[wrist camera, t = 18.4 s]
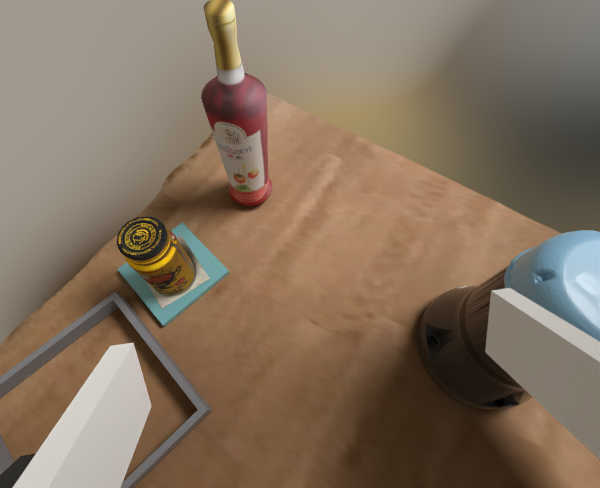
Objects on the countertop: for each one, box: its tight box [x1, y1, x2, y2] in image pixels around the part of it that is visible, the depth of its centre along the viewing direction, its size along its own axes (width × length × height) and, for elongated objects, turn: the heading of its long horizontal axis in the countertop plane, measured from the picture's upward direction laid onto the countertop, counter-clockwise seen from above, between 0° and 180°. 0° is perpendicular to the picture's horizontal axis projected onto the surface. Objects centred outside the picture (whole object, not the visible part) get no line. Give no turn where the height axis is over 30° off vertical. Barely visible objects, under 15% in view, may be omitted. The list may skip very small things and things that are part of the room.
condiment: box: [117, 217, 210, 309], centre depth 42 cm, size 7×8×12 cm
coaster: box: [118, 223, 229, 327], centre depth 48 cm, size 11×11×1 cm
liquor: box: [201, 0, 272, 206], centre depth 43 cm, size 7×7×28 cm
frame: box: [0, 292, 212, 488], centre depth 39 cm, size 20×20×2 cm
